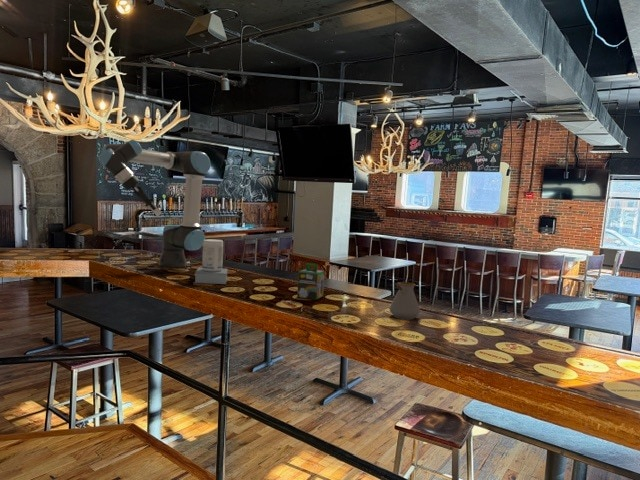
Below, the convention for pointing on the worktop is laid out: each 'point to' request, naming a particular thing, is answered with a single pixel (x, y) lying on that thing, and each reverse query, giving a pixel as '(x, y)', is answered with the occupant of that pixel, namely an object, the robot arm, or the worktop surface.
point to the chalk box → (310, 283)
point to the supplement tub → (212, 255)
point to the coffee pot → (405, 302)
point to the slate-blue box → (211, 276)
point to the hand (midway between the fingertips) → (159, 214)
